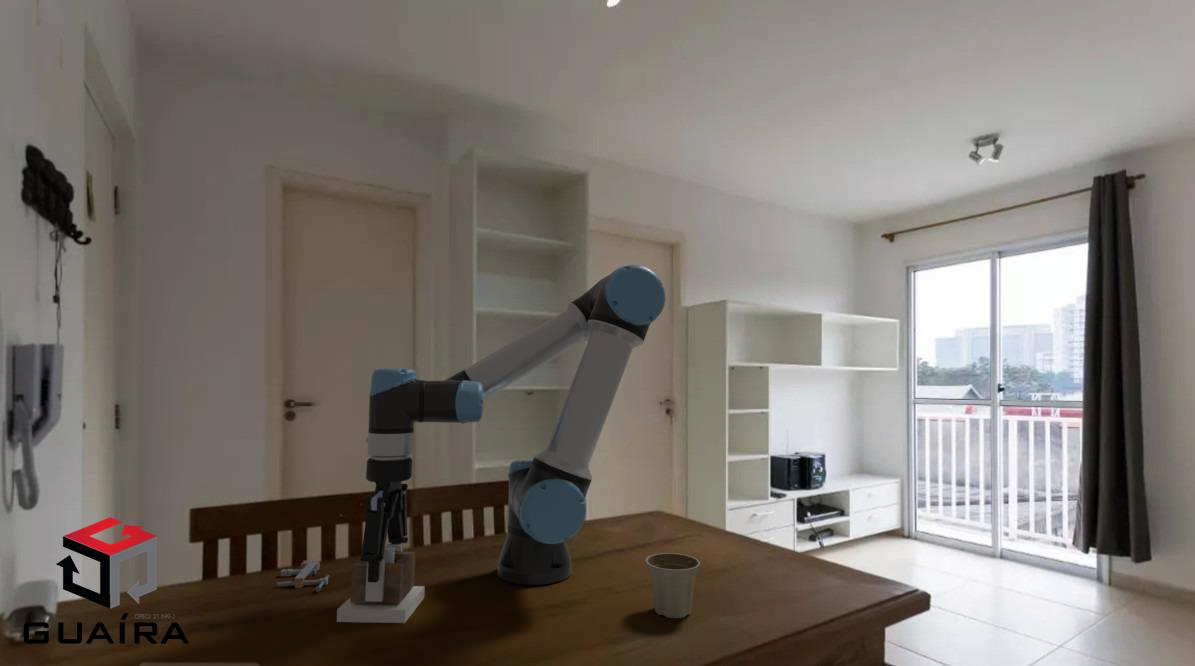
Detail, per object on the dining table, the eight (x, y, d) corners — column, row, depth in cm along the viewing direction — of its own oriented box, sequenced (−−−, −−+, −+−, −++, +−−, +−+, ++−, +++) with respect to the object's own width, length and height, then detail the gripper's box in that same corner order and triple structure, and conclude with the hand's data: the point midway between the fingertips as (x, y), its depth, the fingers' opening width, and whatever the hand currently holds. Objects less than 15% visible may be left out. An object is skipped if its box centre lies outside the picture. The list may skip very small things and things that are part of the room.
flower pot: (665, 627, 95) (665, 572, 96) (634, 606, 103) (635, 556, 104) (711, 617, 99) (711, 565, 100) (678, 598, 108) (678, 550, 108)
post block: (424, 597, 106) (426, 541, 106) (404, 623, 95) (407, 559, 95) (363, 596, 106) (366, 539, 106) (336, 621, 95) (339, 558, 95)
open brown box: (413, 586, 104) (415, 551, 105) (398, 603, 96) (400, 566, 97) (368, 585, 104) (370, 550, 105) (350, 602, 96) (352, 565, 97)
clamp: (288, 560, 120) (340, 558, 122) (287, 571, 120) (339, 569, 122) (262, 586, 105) (321, 583, 107) (261, 599, 105) (321, 595, 107)
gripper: (389, 449, 113) (383, 570, 111) (342, 465, 92) (335, 615, 90) (428, 449, 113) (423, 571, 111) (390, 466, 92) (383, 615, 90)
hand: (383, 590), depth 100 cm, fingers open, 8 cm apart
